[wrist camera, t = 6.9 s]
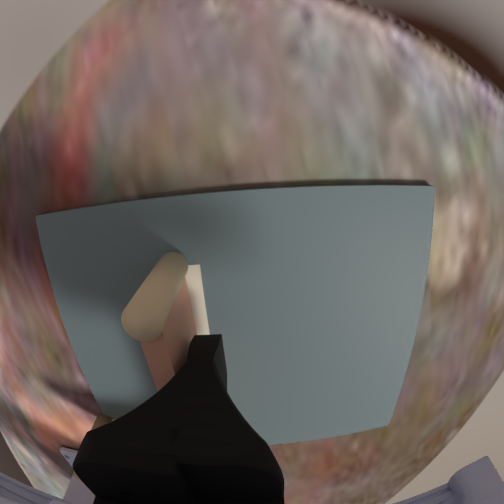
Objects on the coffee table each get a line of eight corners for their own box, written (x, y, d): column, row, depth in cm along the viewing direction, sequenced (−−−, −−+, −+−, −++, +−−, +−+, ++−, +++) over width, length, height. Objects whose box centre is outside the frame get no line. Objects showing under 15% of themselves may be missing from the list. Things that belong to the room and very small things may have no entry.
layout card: (386, 420, 16) (388, 425, 16) (118, 435, 16) (117, 440, 16) (430, 184, 12) (435, 186, 11) (39, 214, 12) (34, 216, 11)
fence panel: (221, 419, 15) (217, 485, 11) (199, 420, 15) (192, 485, 11) (185, 250, 12) (156, 303, 8) (156, 253, 12) (116, 305, 8)
